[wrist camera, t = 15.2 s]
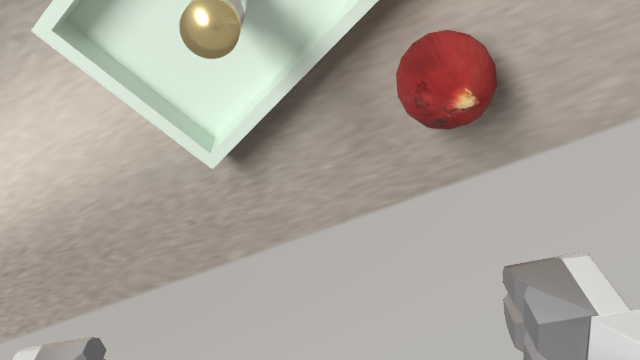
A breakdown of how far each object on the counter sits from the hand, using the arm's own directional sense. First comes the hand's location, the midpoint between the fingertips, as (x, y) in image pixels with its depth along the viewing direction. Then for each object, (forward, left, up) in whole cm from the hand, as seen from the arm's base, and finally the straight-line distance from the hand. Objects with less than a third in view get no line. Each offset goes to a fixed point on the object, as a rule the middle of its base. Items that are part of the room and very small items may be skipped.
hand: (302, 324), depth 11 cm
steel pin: (+3, -3, -26) cm, 26 cm away
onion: (-9, +5, -27) cm, 29 cm away
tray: (+3, -3, -27) cm, 27 cm away
